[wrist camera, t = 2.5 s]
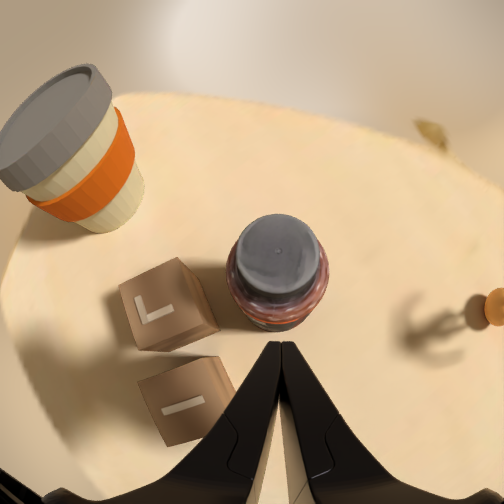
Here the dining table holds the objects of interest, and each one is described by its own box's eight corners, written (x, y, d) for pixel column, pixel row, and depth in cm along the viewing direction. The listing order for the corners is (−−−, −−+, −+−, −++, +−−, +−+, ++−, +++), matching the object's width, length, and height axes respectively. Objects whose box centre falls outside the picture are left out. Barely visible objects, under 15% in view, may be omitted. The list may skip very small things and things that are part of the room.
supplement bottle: (307, 262, 24) (331, 191, 14) (315, 329, 22) (352, 308, 11) (239, 267, 24) (214, 200, 14) (243, 335, 22) (216, 320, 12)
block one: (189, 427, 20) (163, 448, 14) (166, 377, 21) (133, 382, 16) (244, 408, 20) (234, 427, 14) (219, 356, 22) (200, 357, 16)
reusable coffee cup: (111, 269, 25) (5, 196, 11) (56, 220, 28) (-21, 155, 14) (181, 174, 29) (129, 61, 15) (114, 146, 32) (62, 63, 18)
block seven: (167, 353, 22) (134, 351, 16) (148, 302, 24) (114, 285, 18) (220, 330, 23) (202, 322, 17) (198, 279, 24) (176, 255, 19)
